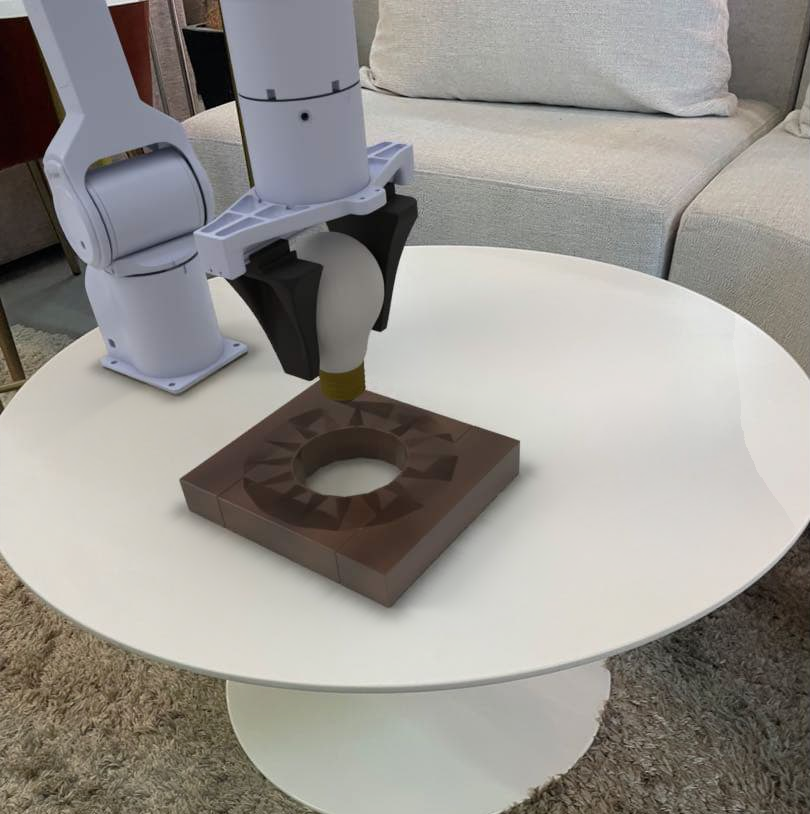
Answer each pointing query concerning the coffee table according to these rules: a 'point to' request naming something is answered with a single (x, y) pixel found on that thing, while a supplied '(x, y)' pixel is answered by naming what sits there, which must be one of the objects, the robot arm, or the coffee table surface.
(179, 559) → the coffee table surface
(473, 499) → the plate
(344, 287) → the light bulb
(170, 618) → the coffee table surface
